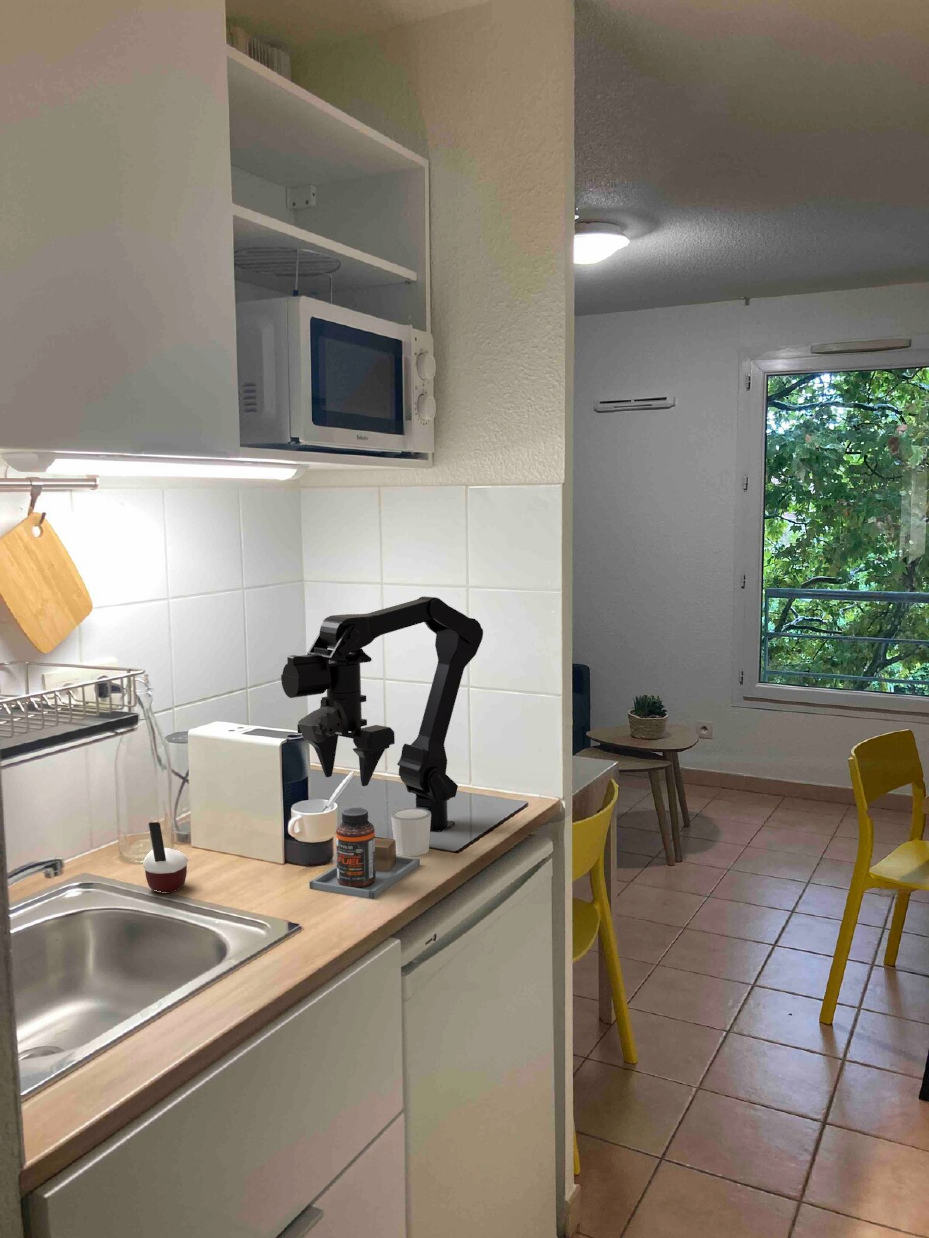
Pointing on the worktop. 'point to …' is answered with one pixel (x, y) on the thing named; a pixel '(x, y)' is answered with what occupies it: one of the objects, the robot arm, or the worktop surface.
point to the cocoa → (164, 864)
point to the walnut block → (385, 854)
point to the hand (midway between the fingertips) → (346, 781)
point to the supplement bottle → (355, 849)
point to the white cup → (411, 831)
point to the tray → (371, 891)
